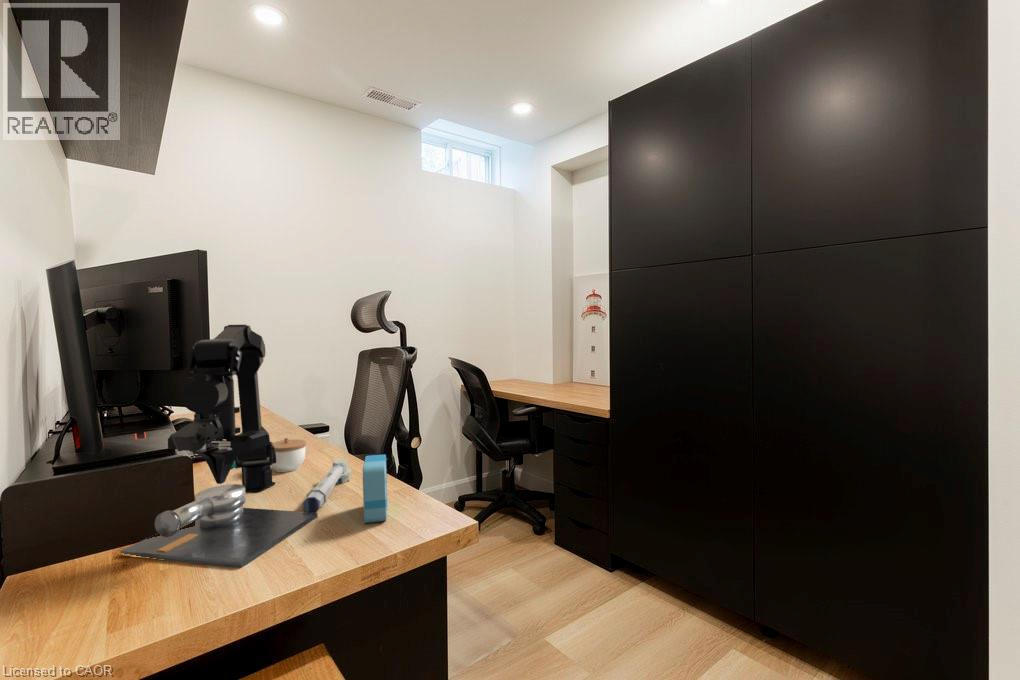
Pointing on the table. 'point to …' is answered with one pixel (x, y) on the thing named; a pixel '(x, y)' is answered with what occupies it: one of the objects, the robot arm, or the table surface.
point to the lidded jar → (289, 454)
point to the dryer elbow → (201, 508)
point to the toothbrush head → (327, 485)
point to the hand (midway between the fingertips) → (220, 483)
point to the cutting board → (225, 537)
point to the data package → (375, 488)
